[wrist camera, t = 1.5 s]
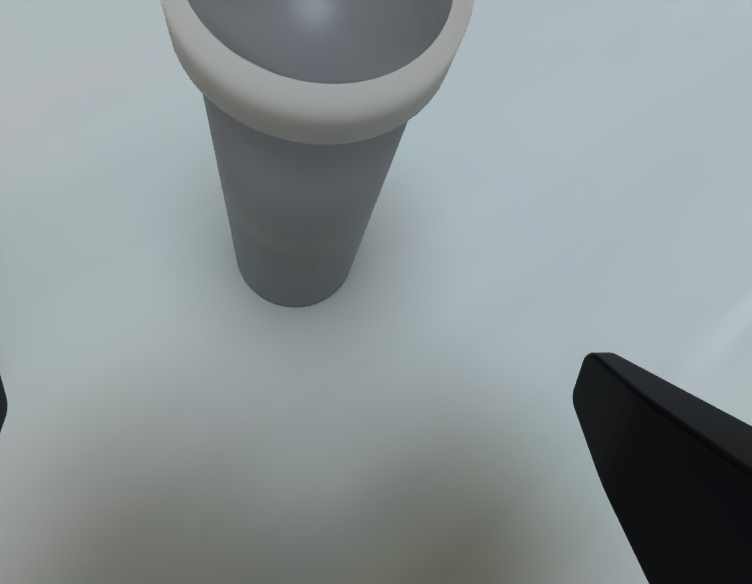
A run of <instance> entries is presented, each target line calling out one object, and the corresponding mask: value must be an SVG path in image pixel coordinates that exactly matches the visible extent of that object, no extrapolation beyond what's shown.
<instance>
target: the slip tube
mask: <svg viewBox="0 0 752 584" xmlns="http://www.w3.org/2000/svg"><path fill="white" fill-rule="evenodd" d="M473 1H474V0H161V3H162V7H163V11H164V15H165V19H166V23H167V27H168V31H169V35H170V38H171V41H172V44H173V48H174V51H175V53H176V55H177V57H178V59H179V61H180V63H181V65H182V67H183V69H184V70H185V71H186V73H187V74H188V76H189V77H190V79H191V80H192V82H193V83H194V84H195V85H196V86H197V88H198V89H199V90H200V91H201V92H202V93H203V97H204V102H205V107H206V112H207V117H208V121H209V126H210V131H211V136H212V141H213V146H214V151H215V155H216V160H217V165H218V170H219V175H220V180H221V185H222V190H223V194H224V199H225V204H226V209H227V214H228V219H229V224H230V228H231V233H232V238H233V243H234V248H235V253H236V258H237V262H238V266H239V269H240V272H241V274H242V276H243V278H244V280H245V281H246V283H247V284H248V285H249V286H250V288H251V289H252V290H253V291H254V292H256V293H257V294H258V295H259V296H261V297H262V298H264V299H265V300H267V301H269V302H272V303H274V304H277V305H281V306H286V307H304V306H310V305H313V304H316V303H319V302H321V301H323V300H325V299H326V298H328V297H330V296H331V295H332V294H333V293H335V292H336V291H337V290H338V288H339V287H340V286H341V285H342V283H343V282H344V281H345V279H346V277H347V275H348V272H349V270H350V267H351V265H352V262H353V260H354V257H355V254H356V252H357V249H358V247H359V244H360V242H361V239H362V237H363V234H364V231H365V229H366V226H367V224H368V221H369V219H370V216H371V214H372V211H373V208H374V206H375V203H376V201H377V198H378V196H379V193H380V191H381V188H382V186H383V183H384V180H385V178H386V175H387V173H388V170H389V168H390V165H391V163H392V160H393V157H394V155H395V152H396V150H397V147H398V145H399V142H400V140H401V137H402V134H403V132H404V129H405V127H406V124H407V122H408V120H410V119H411V118H412V117H414V116H415V115H417V114H418V113H419V112H420V111H421V110H422V109H423V108H424V107H425V106H426V105H427V104H428V103H429V102H430V100H431V99H432V98H433V96H434V95H435V94H436V92H437V91H438V90H439V88H440V86H441V84H442V82H443V80H444V78H445V77H446V74H447V72H448V70H449V68H450V65H451V63H452V61H453V59H454V56H455V54H456V52H457V50H458V47H459V45H460V43H461V41H462V38H463V36H464V34H465V32H466V29H467V26H468V23H469V20H470V17H471V13H472V7H473Z"/></svg>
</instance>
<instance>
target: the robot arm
mask: <svg viewBox="0 0 752 584" xmlns="http://www.w3.org/2000/svg"><path fill="white" fill-rule="evenodd" d="M573 405H574V408H575V411H576V414H577V417H578V419H579V422H580V425H581V428H582V431H583V433H584V436H585V439H586V442H587V445H588V448H589V450H590V453H591V456H592V459H593V462H594V464H595V467H596V470H597V473H598V475H599V478H600V480H601V483H602V485H603V488H604V490H605V492H606V494H607V497H608V499H609V501H610V503H611V505H612V507H613V509H614V511H615V514H616V516H617V518H618V520H619V522H620V524H621V526H622V528H623V530H624V532H625V534H626V537H627V539H628V541H629V543H630V545H631V547H632V549H633V551H634V553H635V555H636V557H637V559H638V562H639V564H640V566H641V568H642V570H643V572H644V574H645V576H646V578H647V580H648V582H649V584H752V426H750V425H748V424H746V423H745V422H743V421H741V420H739V419H737V418H735V417H733V416H731V415H729V414H728V413H726V412H724V411H722V410H720V409H718V408H716V407H714V406H713V405H711V404H709V403H707V402H705V401H703V400H701V399H699V398H697V397H696V396H694V395H692V394H690V393H688V392H686V391H684V390H682V389H680V388H679V387H677V386H675V385H673V384H671V383H669V382H667V381H665V380H663V379H662V378H660V377H658V376H656V375H654V374H652V373H650V372H648V371H647V370H645V369H643V368H641V367H639V366H637V365H635V364H633V363H631V362H630V361H628V360H626V359H624V358H622V357H620V356H618V355H616V354H614V353H610V352H607V353H590V354H588V355H587V356H586V357H585V358H584V360H583V363H582V366H581V369H580V372H579V375H578V378H577V381H576V384H575V387H574V391H573ZM6 414H7V398H6V394H5V390H4V387H3V383H2V379H1V376H0V432H1V429H2V426H3V423H4V420H5V417H6Z"/></svg>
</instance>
